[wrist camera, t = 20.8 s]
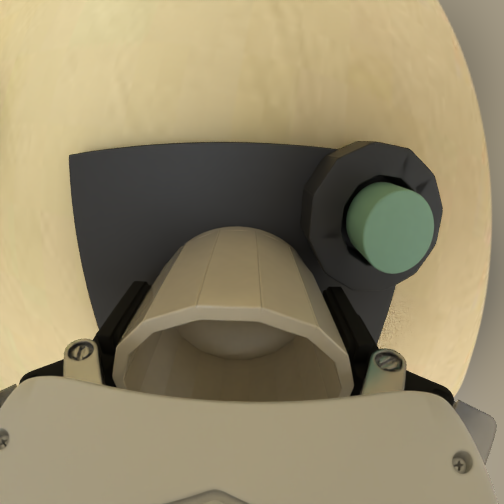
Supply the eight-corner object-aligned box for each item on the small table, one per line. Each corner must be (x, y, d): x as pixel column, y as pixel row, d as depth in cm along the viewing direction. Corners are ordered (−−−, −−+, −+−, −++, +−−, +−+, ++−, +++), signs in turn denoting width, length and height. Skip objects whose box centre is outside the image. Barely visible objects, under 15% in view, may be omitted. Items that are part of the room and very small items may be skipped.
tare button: (415, 186, 9) (441, 195, 8) (403, 256, 10) (424, 274, 9) (350, 177, 9) (369, 184, 8) (340, 254, 10) (355, 274, 9)
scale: (413, 153, 11) (449, 159, 8) (360, 375, 17) (373, 406, 14) (81, 144, 11) (44, 148, 8) (123, 368, 16) (108, 400, 13)
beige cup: (323, 229, 11) (384, 305, 6) (303, 356, 14) (323, 450, 9) (154, 224, 11) (83, 296, 6) (171, 352, 14) (144, 443, 8)
